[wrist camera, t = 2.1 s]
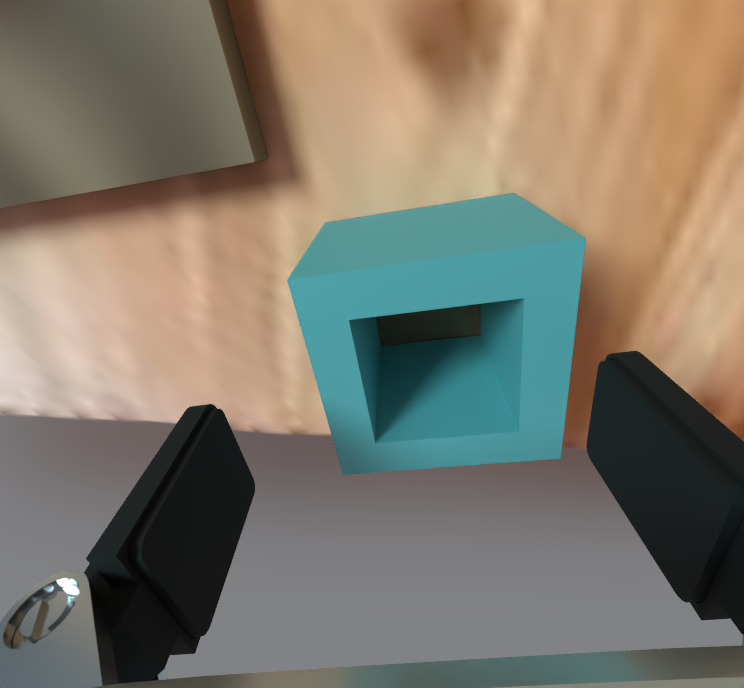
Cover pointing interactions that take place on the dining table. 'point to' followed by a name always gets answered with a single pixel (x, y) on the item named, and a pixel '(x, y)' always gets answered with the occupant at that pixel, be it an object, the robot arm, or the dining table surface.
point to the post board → (118, 95)
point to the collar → (446, 356)
